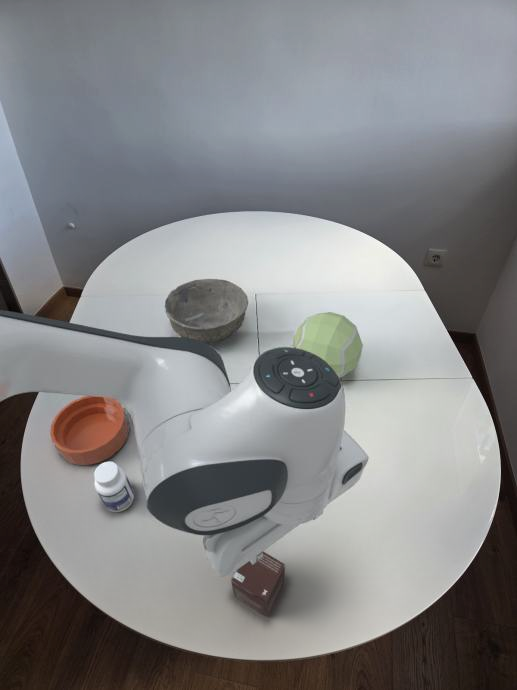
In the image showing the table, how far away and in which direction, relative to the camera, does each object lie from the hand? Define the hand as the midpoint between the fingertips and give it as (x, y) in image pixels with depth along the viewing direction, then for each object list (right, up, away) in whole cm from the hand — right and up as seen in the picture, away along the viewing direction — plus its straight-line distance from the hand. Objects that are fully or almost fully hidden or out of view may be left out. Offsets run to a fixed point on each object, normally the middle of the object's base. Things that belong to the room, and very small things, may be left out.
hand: (284, 533), depth 54 cm
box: (-3, -15, +14) cm, 21 cm away
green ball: (+12, +18, +49) cm, 54 cm away
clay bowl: (-38, +5, +36) cm, 52 cm away
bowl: (-16, +27, +59) cm, 67 cm away
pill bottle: (-29, -5, +26) cm, 39 cm away
